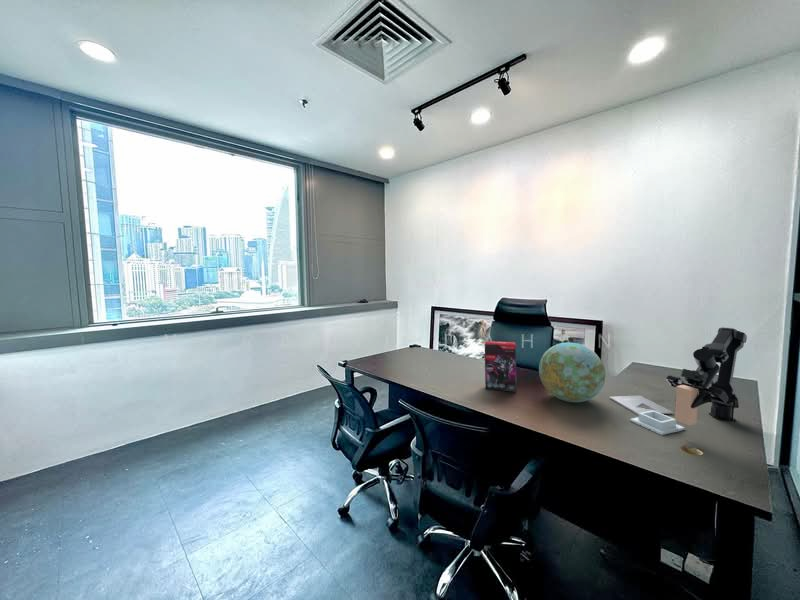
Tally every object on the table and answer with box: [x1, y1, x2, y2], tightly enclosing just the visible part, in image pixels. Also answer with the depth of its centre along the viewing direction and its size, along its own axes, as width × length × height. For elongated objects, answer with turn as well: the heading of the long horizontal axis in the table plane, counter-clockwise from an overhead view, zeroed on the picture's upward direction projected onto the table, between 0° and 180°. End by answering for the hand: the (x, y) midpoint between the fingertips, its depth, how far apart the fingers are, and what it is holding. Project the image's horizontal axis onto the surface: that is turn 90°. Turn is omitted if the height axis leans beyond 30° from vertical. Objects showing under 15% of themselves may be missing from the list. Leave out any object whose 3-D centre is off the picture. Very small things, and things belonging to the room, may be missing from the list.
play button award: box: [608, 394, 675, 416], centre depth 156 cm, size 16×2×20 cm
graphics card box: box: [484, 340, 517, 392], centre depth 183 cm, size 17×7×27 cm, turn 72°
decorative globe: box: [538, 341, 606, 403], centre depth 165 cm, size 30×30×30 cm
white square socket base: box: [629, 410, 686, 436], centre depth 137 cm, size 13×13×4 cm
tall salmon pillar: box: [674, 385, 699, 426], centre depth 126 cm, size 4×5×14 cm
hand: (683, 405), depth 126 cm, fingers closed on tall salmon pillar, 5 cm apart
